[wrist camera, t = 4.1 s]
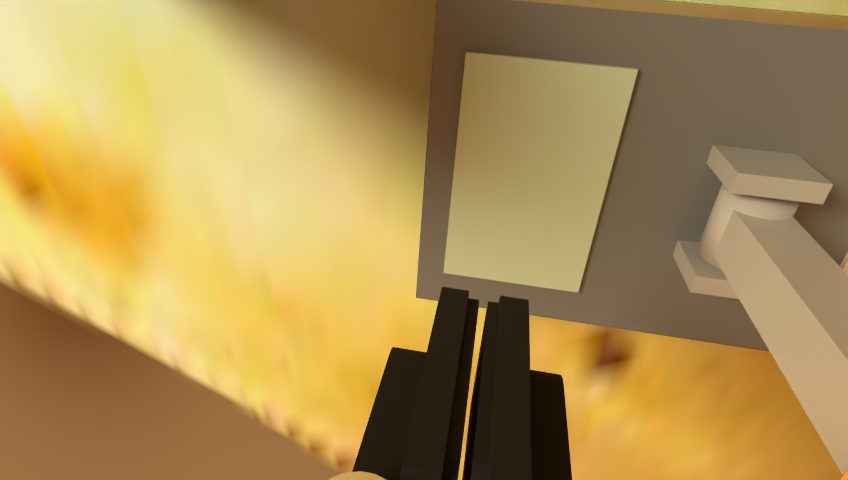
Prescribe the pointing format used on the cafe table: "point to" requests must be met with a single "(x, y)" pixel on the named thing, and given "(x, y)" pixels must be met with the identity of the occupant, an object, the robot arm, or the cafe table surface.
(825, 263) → the lever
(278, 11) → the cafe table surface
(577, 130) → the switch box
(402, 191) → the cafe table surface
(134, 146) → the cafe table surface
